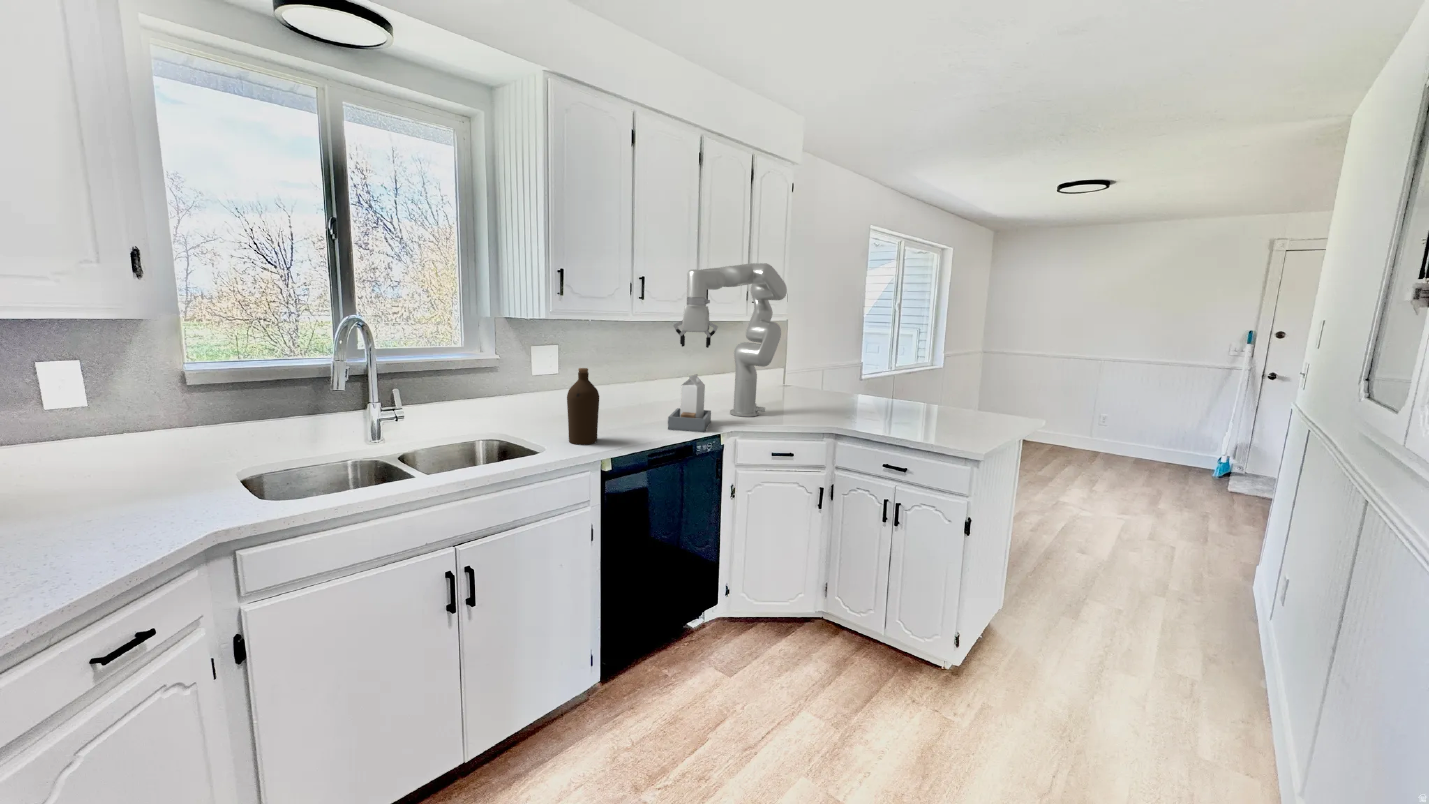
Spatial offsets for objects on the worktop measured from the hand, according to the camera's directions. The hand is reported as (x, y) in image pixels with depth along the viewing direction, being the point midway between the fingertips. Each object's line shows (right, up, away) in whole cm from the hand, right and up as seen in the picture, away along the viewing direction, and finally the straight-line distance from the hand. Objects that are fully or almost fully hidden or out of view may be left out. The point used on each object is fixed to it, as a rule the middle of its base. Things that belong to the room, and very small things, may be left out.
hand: (695, 346), depth 225 cm
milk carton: (-2, -30, +5) cm, 30 cm away
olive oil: (-37, -35, -29) cm, 59 cm away
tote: (-2, -31, +2) cm, 31 cm away
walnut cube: (-3, -31, -3) cm, 31 cm away
